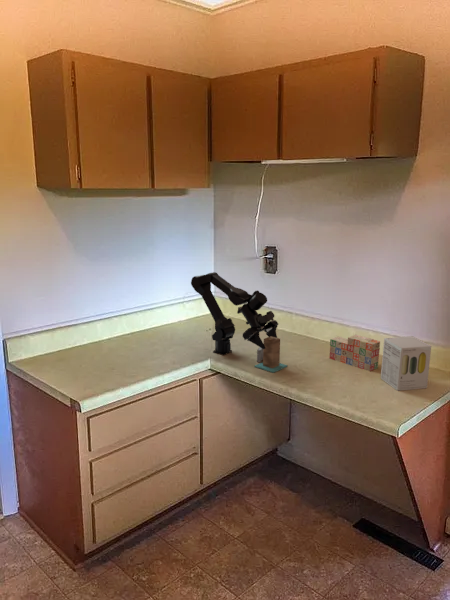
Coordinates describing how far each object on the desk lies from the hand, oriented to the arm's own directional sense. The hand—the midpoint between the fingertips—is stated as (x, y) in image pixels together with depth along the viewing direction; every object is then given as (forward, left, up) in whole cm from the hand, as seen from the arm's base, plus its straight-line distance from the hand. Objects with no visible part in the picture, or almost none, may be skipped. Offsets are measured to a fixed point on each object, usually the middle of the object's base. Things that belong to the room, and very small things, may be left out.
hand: (271, 346), depth 230 cm
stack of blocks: (+25, +27, -10) cm, 39 cm away
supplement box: (+51, +18, -10) cm, 55 cm away
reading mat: (0, 0, -9) cm, 9 cm away
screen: (-9, +8, -9) cm, 15 cm away
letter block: (0, 0, -9) cm, 9 cm away
